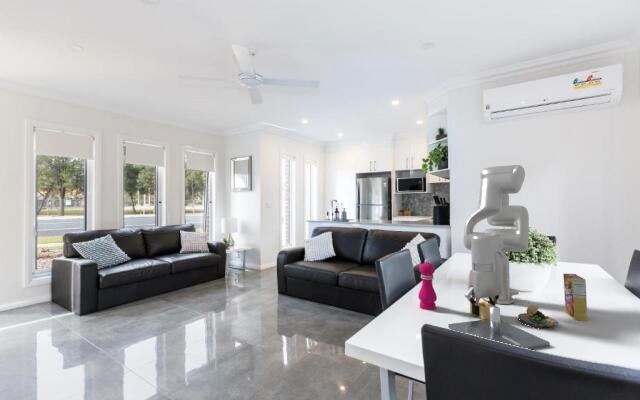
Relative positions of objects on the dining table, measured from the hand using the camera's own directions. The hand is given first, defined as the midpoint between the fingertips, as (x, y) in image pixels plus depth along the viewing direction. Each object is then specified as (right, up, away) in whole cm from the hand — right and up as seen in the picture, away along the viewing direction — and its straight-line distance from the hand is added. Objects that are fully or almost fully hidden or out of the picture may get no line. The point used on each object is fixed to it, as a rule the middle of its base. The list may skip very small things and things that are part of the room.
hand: (483, 313), depth 116 cm
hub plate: (-6, -1, -18) cm, 19 cm away
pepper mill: (-18, -1, +10) cm, 21 cm away
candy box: (+33, -1, -2) cm, 33 cm away
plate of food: (+15, -1, -8) cm, 17 cm away
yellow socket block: (0, -1, 0) cm, 1 cm away
